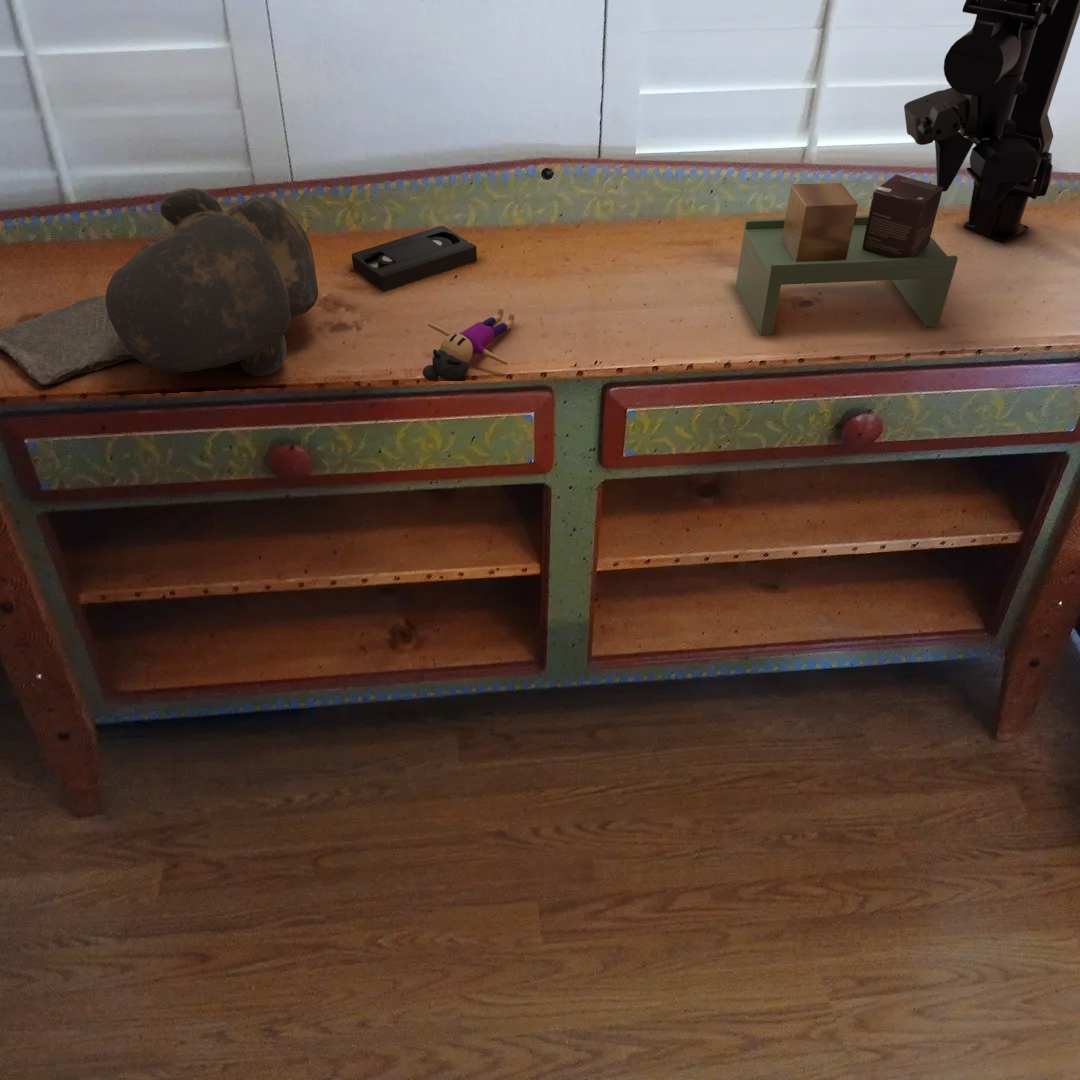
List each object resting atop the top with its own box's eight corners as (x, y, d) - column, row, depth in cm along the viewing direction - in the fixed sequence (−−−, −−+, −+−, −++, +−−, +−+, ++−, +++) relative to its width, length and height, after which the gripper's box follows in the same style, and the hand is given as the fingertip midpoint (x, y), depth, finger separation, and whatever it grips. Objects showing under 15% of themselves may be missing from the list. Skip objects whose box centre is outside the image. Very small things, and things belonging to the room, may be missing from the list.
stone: (173, 330, 121) (50, 384, 113) (178, 352, 123) (58, 406, 115) (93, 278, 129) (-27, 325, 121) (99, 299, 131) (-18, 346, 123)
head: (251, 151, 125) (49, 239, 117) (310, 136, 106) (76, 240, 98) (328, 314, 135) (146, 407, 126) (395, 327, 116) (187, 437, 108)
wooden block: (829, 239, 128) (841, 182, 124) (845, 262, 124) (858, 204, 119) (781, 240, 128) (791, 184, 123) (795, 264, 123) (806, 206, 118)
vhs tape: (443, 238, 145) (442, 224, 143) (476, 260, 140) (476, 246, 139) (351, 268, 138) (350, 253, 137) (383, 291, 133) (382, 277, 132)
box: (929, 246, 127) (945, 186, 122) (908, 264, 123) (923, 203, 118) (881, 231, 130) (895, 172, 125) (859, 249, 126) (873, 189, 121)
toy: (547, 324, 125) (488, 365, 113) (535, 364, 128) (476, 409, 116) (472, 287, 127) (406, 324, 115) (461, 327, 130) (396, 367, 118)
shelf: (902, 279, 138) (919, 213, 132) (938, 326, 129) (958, 257, 123) (735, 286, 136) (745, 219, 130) (760, 335, 127) (771, 265, 121)
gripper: (892, 42, 120) (863, 177, 131) (958, 101, 106) (919, 246, 117) (987, 40, 121) (951, 174, 131) (1064, 98, 107) (1017, 242, 118)
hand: (956, 207), depth 124 cm, fingers open, 9 cm apart
